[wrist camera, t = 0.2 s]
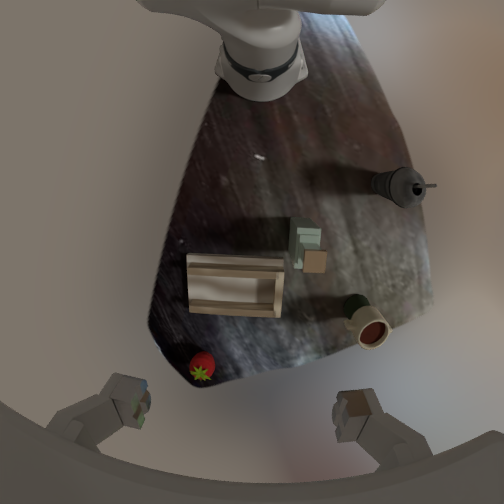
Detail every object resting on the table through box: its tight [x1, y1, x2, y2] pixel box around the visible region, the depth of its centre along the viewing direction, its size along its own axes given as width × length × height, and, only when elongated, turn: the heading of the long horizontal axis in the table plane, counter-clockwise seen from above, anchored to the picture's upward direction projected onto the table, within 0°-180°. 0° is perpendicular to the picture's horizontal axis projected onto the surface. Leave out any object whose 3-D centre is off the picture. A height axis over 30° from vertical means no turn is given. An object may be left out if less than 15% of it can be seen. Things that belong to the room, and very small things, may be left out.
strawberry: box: [190, 351, 215, 380], centre depth 60 cm, size 6×8×10 cm
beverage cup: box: [371, 167, 437, 208], centre depth 42 cm, size 7×7×20 cm
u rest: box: [187, 253, 284, 318], centre depth 57 cm, size 13×20×5 cm, turn 88°
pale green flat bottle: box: [288, 217, 327, 273], centre depth 47 cm, size 7×4×18 cm, turn 178°
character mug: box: [344, 295, 392, 350], centre depth 54 cm, size 11×7×13 cm, turn 81°
